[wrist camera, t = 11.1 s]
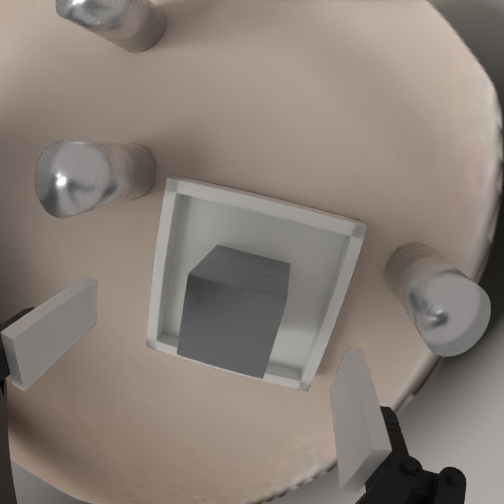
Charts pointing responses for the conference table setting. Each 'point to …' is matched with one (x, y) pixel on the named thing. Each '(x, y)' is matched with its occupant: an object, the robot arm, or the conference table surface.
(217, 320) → the slate cube
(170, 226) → the tray
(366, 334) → the conference table surface
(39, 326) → the robot arm
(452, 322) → the cylinder
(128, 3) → the cylinder
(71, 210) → the spacer
